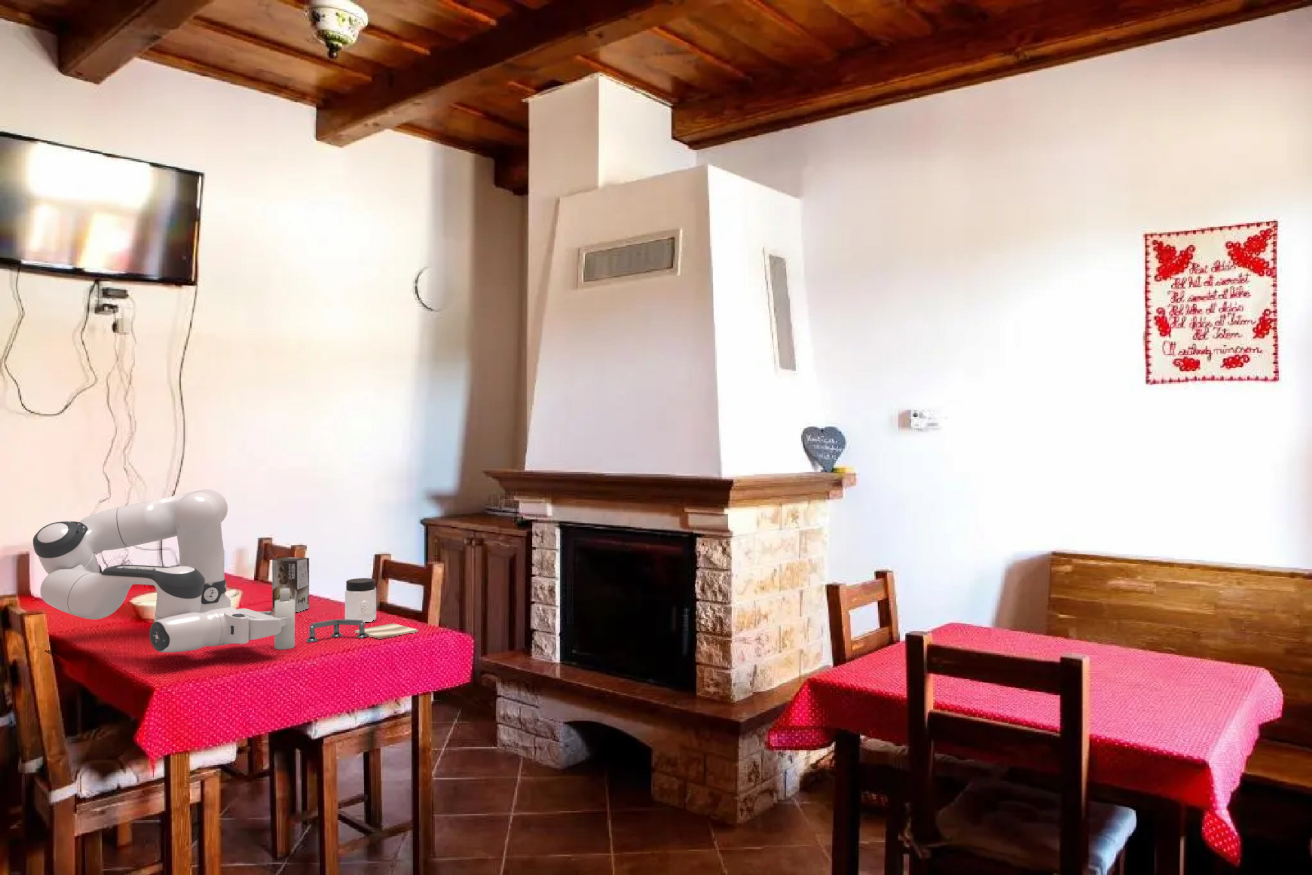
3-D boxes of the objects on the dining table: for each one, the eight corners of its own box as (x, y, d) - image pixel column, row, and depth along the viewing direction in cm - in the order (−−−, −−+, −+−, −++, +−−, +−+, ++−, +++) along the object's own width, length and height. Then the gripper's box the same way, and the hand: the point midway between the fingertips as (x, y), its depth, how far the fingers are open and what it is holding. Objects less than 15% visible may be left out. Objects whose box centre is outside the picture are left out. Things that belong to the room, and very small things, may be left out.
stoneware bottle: (271, 647, 228) (271, 588, 228) (289, 643, 232) (289, 586, 232) (280, 650, 225) (280, 591, 225) (298, 646, 229) (298, 588, 228)
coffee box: (310, 609, 277) (310, 557, 277) (297, 613, 271) (297, 560, 271) (284, 607, 279) (284, 556, 279) (271, 611, 273) (271, 559, 273)
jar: (348, 625, 254) (348, 583, 254) (341, 620, 261) (341, 579, 261) (380, 621, 259) (380, 580, 259) (372, 617, 266) (372, 577, 266)
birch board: (355, 633, 244) (355, 630, 244) (393, 626, 254) (393, 623, 254) (379, 639, 237) (379, 636, 237) (417, 632, 246) (417, 629, 246)
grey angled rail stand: (304, 641, 235) (304, 623, 235) (351, 632, 245) (352, 615, 245) (321, 646, 229) (321, 628, 229) (369, 637, 240) (369, 620, 240)
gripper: (208, 632, 224) (262, 623, 234) (245, 645, 210) (300, 635, 221) (208, 607, 224) (262, 599, 234) (245, 618, 210) (301, 610, 221)
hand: (281, 617), depth 227 cm, fingers open, 8 cm apart
